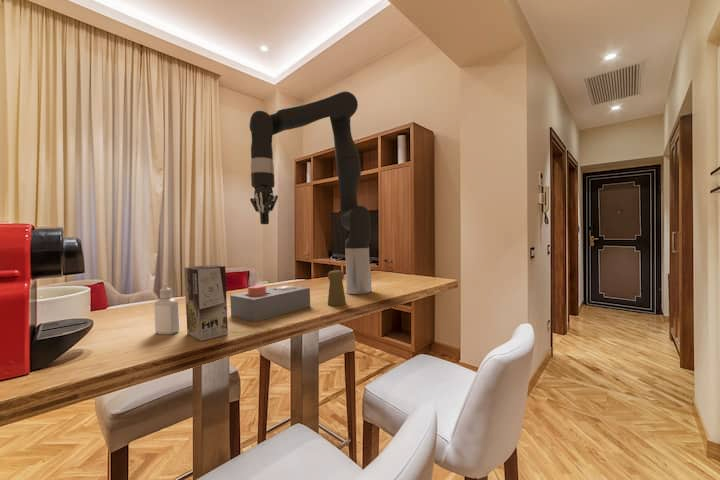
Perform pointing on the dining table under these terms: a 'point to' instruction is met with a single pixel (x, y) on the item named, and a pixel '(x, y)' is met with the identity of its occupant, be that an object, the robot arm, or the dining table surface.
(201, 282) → the coffee box
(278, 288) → the white rounded block
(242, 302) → the console
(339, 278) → the cork
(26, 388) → the dining table surface
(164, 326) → the eye dropper bottle
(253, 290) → the red plunger
